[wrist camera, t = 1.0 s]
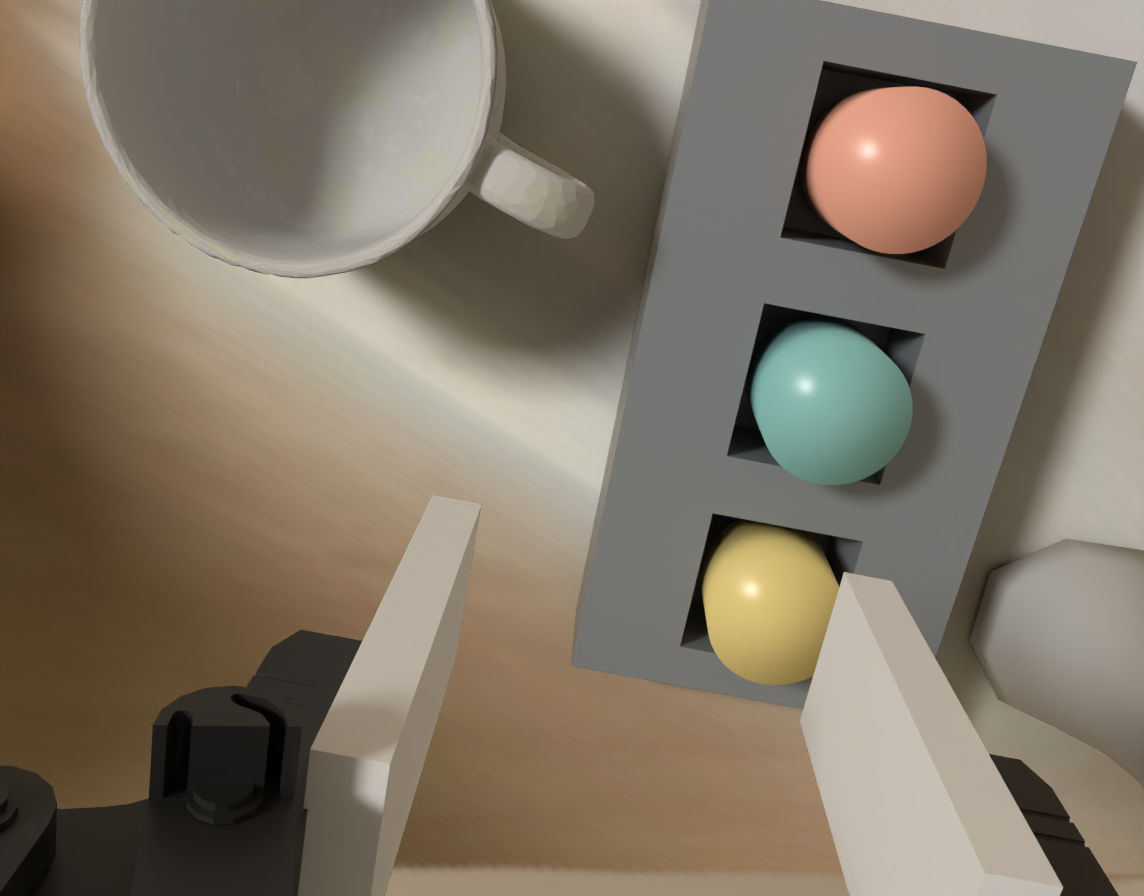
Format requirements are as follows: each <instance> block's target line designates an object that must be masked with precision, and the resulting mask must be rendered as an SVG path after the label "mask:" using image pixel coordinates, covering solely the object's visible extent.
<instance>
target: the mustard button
mask: <svg viewBox="0 0 1144 896" xmlns="http://www.w3.org/2000/svg"><path fill="white" fill-rule="evenodd" d="M700 584H701V590H702V596H703V603H704V609H705V615H706V621H707V628H708V634H709V638H710V642H711V645H712V647H713V649H714V651H715V653H716V655H717V656H718V658H719V659H720V660H721V661H722V663H723V664H724V665H725V666H726V667H727V668H728V669H730V670H731V671H732V672H734V673H735V674H737V675H738V676H740V677H742V678H744V679H747V680H749V681H752V682H755V683H759V684H766V685H786V684H792V683H796V682H800V681H803V680H806V679H808V678H810V677H812V676H813V675H814V672H815V668H816V665H817V661H818V658H819V655H820V651H821V648H822V645H823V641H824V638H825V634H826V631H827V628H828V624H829V621H830V618H831V614H832V611H833V607H834V604H835V601H836V597H837V594H838V591H839V585H838V583H837V581H836V578H835V576H834V574H833V572H832V569H831V567H830V565H829V563H828V560H827V558H826V556H825V554H824V551H823V549H822V547H821V545H820V544H819V542H818V540H817V539H816V538H815V536H814V535H813V534H812V533H811V532H810V531H805V530H799V529H794V528H789V527H783V526H778V525H773V524H767V523H762V522H757V521H751V520H746V519H740V520H737V521H735V522H733V523H732V524H730V525H728V526H727V527H725V528H724V529H722V530H721V531H720V532H719V533H718V534H717V535H716V536H715V537H714V538H713V539H712V540H711V542H710V543H709V545H708V546H707V548H706V550H705V552H704V554H703V557H702V560H701V565H700Z"/></svg>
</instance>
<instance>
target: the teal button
mask: <svg viewBox="0 0 1144 896" xmlns="http://www.w3.org/2000/svg"><path fill="white" fill-rule="evenodd" d="M746 389H747V397H748V401H749V404H750V407H751V409H752V412H753V414H754V417H755V419H756V422H757V424H758V426H759V429H760V431H761V434H762V436H763V439H764V441H765V443H766V446H767V448H768V450H769V451H770V453H771V455H772V456H773V457H774V459H775V460H776V461H777V462H778V463H779V464H780V465H781V466H782V467H783V468H784V469H785V470H787V471H788V472H789V473H791V474H792V475H794V476H796V477H798V478H800V479H802V480H805V481H807V482H811V483H815V484H821V485H842V484H848V483H852V482H856V481H859V480H862V479H864V478H866V477H868V476H870V475H872V474H874V473H876V472H877V471H879V470H880V469H882V468H883V467H884V466H885V465H886V464H887V463H889V462H890V461H891V460H892V458H893V457H894V456H895V455H896V454H897V452H898V451H899V450H900V448H901V447H902V445H903V443H904V441H905V439H906V437H907V435H908V432H909V429H910V425H911V421H912V412H913V406H912V397H911V392H910V389H909V386H908V383H907V381H906V379H905V377H904V375H903V373H902V372H901V371H900V369H899V368H898V366H897V365H896V364H895V363H894V362H893V361H892V360H891V359H890V358H889V357H888V356H887V355H886V354H885V353H884V352H883V351H881V350H880V349H879V348H878V347H877V346H876V345H875V344H874V343H873V342H872V341H871V340H870V339H869V338H868V337H867V336H866V335H865V334H864V333H863V332H862V331H860V330H859V329H858V328H857V327H855V326H853V325H852V324H850V323H848V322H846V321H843V320H841V319H837V318H833V317H827V316H810V317H804V318H800V319H796V320H793V321H791V322H788V323H786V324H785V325H783V326H781V327H779V328H778V329H776V330H775V331H774V332H772V333H771V334H770V335H769V336H768V337H767V338H766V339H765V340H764V341H763V342H762V343H761V345H760V346H759V347H758V349H757V350H756V352H755V354H754V356H753V358H752V360H751V362H750V366H749V369H748V374H747V382H746Z"/></svg>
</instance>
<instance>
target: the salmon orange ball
mask: <svg viewBox="0 0 1144 896" xmlns="http://www.w3.org/2000/svg"><path fill="white" fill-rule="evenodd" d="M986 168H987V155H986V148H985V143H984V140H983V136H982V133H981V131H980V129H979V127H978V125H977V123H976V121H975V120H974V118H973V117H972V115H971V114H970V113H969V112H968V111H967V110H966V108H965V107H964V106H962V105H961V104H960V103H959V102H958V101H956V100H955V99H953V98H952V97H950V96H948V95H947V94H944V93H942V92H940V91H937V90H933V89H930V88H924V87H889V88H872V89H865V90H861V91H858V92H854V93H852V94H850V95H847V96H845V97H843V98H842V99H840V100H838V101H836V102H835V103H834V104H833V105H831V106H830V107H829V108H827V109H826V110H825V111H824V112H823V113H822V114H821V115H820V117H819V118H818V119H817V121H816V122H815V123H814V125H813V126H812V128H811V130H810V131H809V133H808V135H807V138H806V140H805V142H804V146H803V149H802V153H801V159H800V180H801V185H802V190H803V192H804V195H805V198H806V200H807V202H808V204H809V206H810V207H811V209H812V210H813V211H814V213H815V214H816V215H817V216H818V217H819V218H820V219H821V220H822V221H823V222H824V223H825V224H827V225H828V226H829V227H831V228H833V229H834V230H836V231H838V232H839V233H841V234H843V235H844V236H846V237H847V238H849V239H851V240H852V241H854V242H856V243H857V244H859V245H861V246H863V247H865V248H867V249H870V250H873V251H877V252H880V253H887V254H905V253H912V252H916V251H920V250H923V249H926V248H928V247H931V246H933V245H935V244H937V243H939V242H941V241H942V240H944V239H945V238H947V237H948V236H949V235H951V234H952V233H953V232H954V231H955V230H956V229H958V228H959V227H960V226H961V225H962V223H963V222H964V221H965V220H966V219H967V218H968V216H969V215H970V213H971V212H972V210H973V209H974V207H975V205H976V203H977V201H978V199H979V197H980V194H981V192H982V189H983V185H984V181H985V177H986Z"/></svg>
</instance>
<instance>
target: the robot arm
mask: <svg viewBox="0 0 1144 896" xmlns="http://www.w3.org/2000/svg"><path fill="white" fill-rule="evenodd" d="M480 509H481V504H477V503H472V502H467V501H461V500H456V499H451V498H445V497H440V496H435V495H433V496H432V498H431V500H430V502H429V504H428V506H427V508H426V510H425V512H424V515H423V517H422V519H421V521H420V523H419V525H418V527H417V529H416V531H415V533H414V535H413V537H412V539H411V541H410V544H409V546H408V548H407V550H406V552H405V554H404V556H403V558H402V560H401V562H400V564H399V566H398V568H397V570H396V573H395V575H394V577H393V579H392V581H391V583H390V585H389V587H388V589H387V591H386V593H385V595H384V597H383V600H382V602H381V604H380V606H379V608H378V610H377V612H376V614H375V616H374V618H373V620H372V622H371V624H370V626H369V629H368V631H367V633H366V635H365V637H364V639H363V641H359V640H353V639H348V638H343V637H337V636H332V635H326V634H321V633H316V632H310V631H305V630H300V631H298V632H297V633H295V634H293V635H292V636H290V637H288V638H287V639H285V640H283V641H282V642H280V643H278V644H277V645H275V646H273V647H272V648H271V650H270V651H269V653H268V654H267V656H266V657H265V659H264V660H263V662H262V664H261V665H260V667H259V668H258V670H257V673H256V676H255V675H254V676H253V678H252V679H251V681H250V682H249V684H248V685H247V687H239V686H225V687H213V688H205V689H202V690H199V691H195V692H192V693H189V694H186V695H183V696H181V697H179V698H178V699H176V700H175V701H173V702H172V703H170V704H169V705H168V706H166V707H165V708H163V709H162V711H161V712H160V714H159V716H158V718H157V719H156V721H155V723H154V724H153V735H152V752H151V770H150V787H149V799H145V800H142V801H138V802H135V803H131V804H126V805H118V806H109V807H95V808H74V809H57V802H56V799H55V795H54V791H53V788H52V786H51V785H50V784H49V783H47V782H46V781H45V780H44V779H42V778H41V777H40V776H39V775H38V774H36V773H33V772H30V771H26V770H23V769H20V768H16V767H13V766H0V896H385V892H386V889H387V886H388V883H389V879H390V876H391V873H392V869H393V866H394V863H395V859H396V856H397V853H398V849H399V846H400V843H401V839H402V836H403V833H404V829H405V826H406V823H407V819H408V816H409V813H410V809H411V806H412V803H413V799H414V796H415V793H416V789H417V786H418V783H419V779H420V776H421V773H422V769H423V766H424V763H425V759H426V756H427V753H428V749H429V746H430V743H431V739H432V736H433V733H434V729H435V726H436V723H437V719H438V716H439V713H440V709H441V706H442V703H443V699H444V696H445V693H446V689H447V686H448V683H449V679H450V676H451V673H452V669H453V666H454V663H455V659H456V655H457V649H458V642H459V636H460V630H461V624H462V618H463V612H464V606H465V600H466V594H467V588H468V582H469V576H470V570H471V564H472V558H473V552H474V546H475V540H476V534H477V528H478V522H479V515H480ZM800 724H801V727H802V731H803V734H804V738H805V741H806V745H807V748H808V752H809V755H810V759H811V762H812V766H813V769H814V773H815V776H816V780H817V783H818V787H819V790H820V794H821V797H822V801H823V804H824V808H825V812H826V815H827V819H828V822H829V826H830V829H831V833H832V836H833V840H834V843H835V847H836V850H837V854H838V857H839V861H840V864H841V868H842V871H843V875H844V878H845V882H846V885H847V889H848V892H849V896H1119V895H1118V894H1117V892H1116V890H1115V889H1114V887H1113V886H1112V884H1111V882H1110V881H1109V879H1108V878H1107V876H1106V874H1105V873H1104V871H1103V870H1102V868H1101V866H1100V865H1099V863H1098V862H1097V860H1096V858H1095V857H1094V855H1093V854H1092V852H1091V850H1090V849H1089V848H1088V847H1085V845H1084V843H1085V841H1084V839H1083V838H1082V836H1081V834H1080V833H1079V831H1078V829H1077V828H1076V826H1075V825H1074V823H1070V821H1069V819H1070V817H1069V815H1068V813H1067V812H1066V810H1065V809H1064V807H1063V805H1062V804H1061V802H1060V801H1059V799H1058V797H1057V796H1056V794H1055V793H1054V791H1053V789H1052V788H1051V787H1050V786H1049V785H1048V784H1047V783H1045V782H1044V781H1043V780H1042V779H1041V778H1040V777H1039V776H1038V775H1037V774H1035V773H1034V772H1033V771H1032V770H1031V769H1030V768H1029V767H1028V766H1026V765H1025V764H1024V763H1023V762H1022V761H1021V760H1018V759H1013V758H1007V757H1002V756H997V755H991V754H988V752H987V750H986V748H985V746H984V745H983V743H982V741H981V739H980V738H979V736H978V734H977V732H976V730H975V729H974V727H973V725H972V723H971V721H970V720H969V718H968V716H967V714H966V712H965V711H964V709H963V707H962V705H961V704H960V702H959V700H958V698H957V696H956V695H955V693H954V691H953V689H952V687H951V686H950V684H949V682H948V680H947V678H946V677H945V675H944V673H943V671H942V670H941V668H940V666H939V664H938V662H937V661H936V659H935V657H934V655H933V653H932V652H931V650H930V648H929V646H928V645H927V643H926V641H925V639H924V637H923V636H922V634H921V632H920V630H919V628H918V627H917V625H916V623H915V621H914V619H913V618H912V616H911V614H910V612H909V611H908V609H907V607H906V605H905V603H904V602H903V600H902V598H901V596H900V594H899V593H898V591H897V589H896V587H895V585H894V584H893V582H892V581H889V580H884V579H879V578H873V577H868V576H863V575H857V574H852V573H847V572H844V574H843V577H842V580H841V584H840V587H839V591H838V594H837V597H836V601H835V604H834V607H833V611H832V614H831V618H830V621H829V624H828V628H827V631H826V634H825V638H824V641H823V645H822V648H821V651H820V655H819V658H818V661H817V665H816V668H815V672H814V675H813V678H812V682H811V685H810V689H809V692H808V695H807V699H806V702H805V705H804V709H803V712H802V716H801V719H800Z"/></svg>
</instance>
